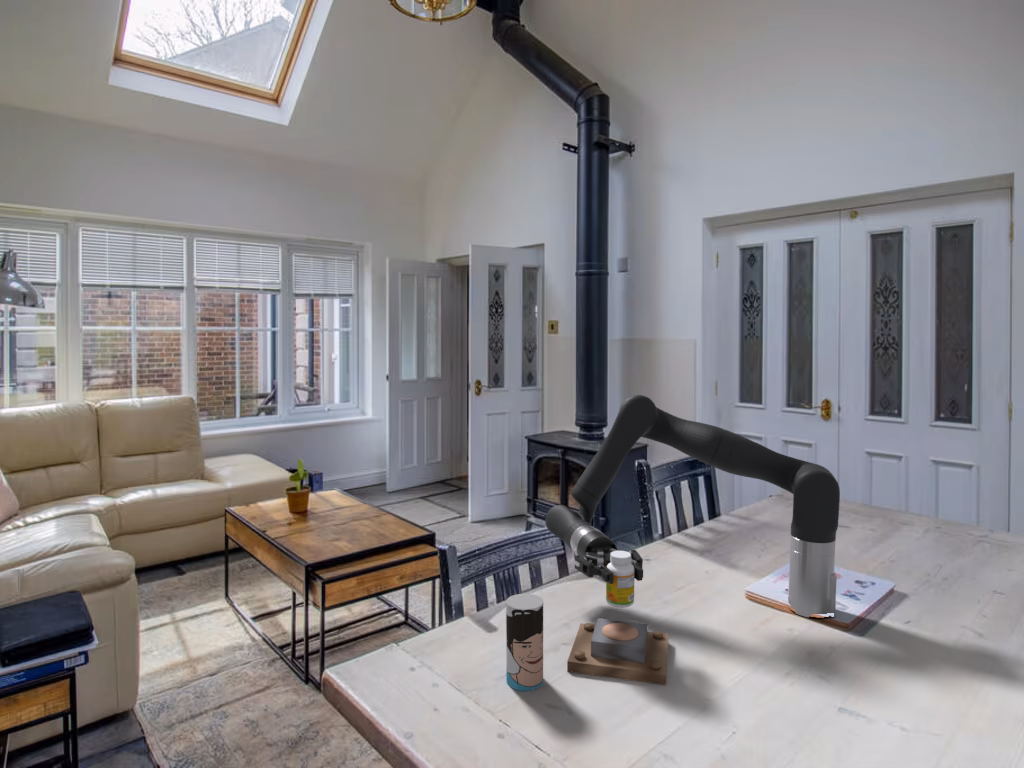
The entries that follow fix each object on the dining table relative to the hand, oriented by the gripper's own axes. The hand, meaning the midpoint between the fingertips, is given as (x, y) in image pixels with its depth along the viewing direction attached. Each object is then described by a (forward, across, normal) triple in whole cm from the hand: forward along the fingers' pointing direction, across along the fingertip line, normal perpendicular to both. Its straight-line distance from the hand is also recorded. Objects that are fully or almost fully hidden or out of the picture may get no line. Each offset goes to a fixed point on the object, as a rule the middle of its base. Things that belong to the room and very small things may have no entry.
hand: (626, 577), depth 121 cm
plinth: (-2, 0, +17) cm, 17 cm away
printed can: (+1, -20, +17) cm, 27 cm away
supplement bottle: (-3, 0, +6) cm, 7 cm away
